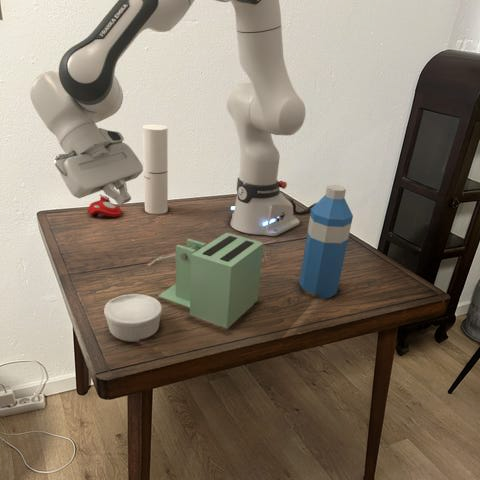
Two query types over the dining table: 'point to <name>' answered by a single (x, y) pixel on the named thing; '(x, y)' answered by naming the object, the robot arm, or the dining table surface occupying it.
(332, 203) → the water bottle
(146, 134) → the cylindrical container
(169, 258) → the lever
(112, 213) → the tracker holder
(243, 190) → the robot arm
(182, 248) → the switch bracket
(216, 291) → the toaster
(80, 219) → the dining table surface
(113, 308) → the ramekin
